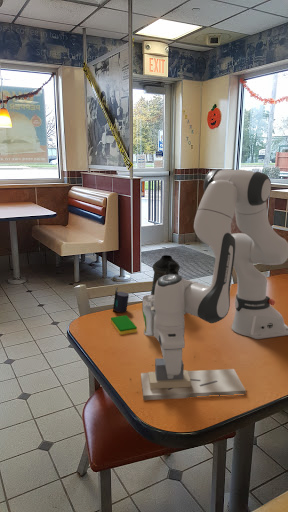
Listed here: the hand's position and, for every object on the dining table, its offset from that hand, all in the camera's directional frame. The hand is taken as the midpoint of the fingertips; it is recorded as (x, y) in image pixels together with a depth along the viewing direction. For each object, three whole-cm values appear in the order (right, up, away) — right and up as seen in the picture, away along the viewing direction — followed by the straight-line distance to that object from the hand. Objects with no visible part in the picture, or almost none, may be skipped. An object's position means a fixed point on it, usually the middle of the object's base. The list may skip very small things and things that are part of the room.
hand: (168, 372), depth 116 cm
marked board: (+7, -5, +2) cm, 9 cm away
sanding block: (0, -3, +1) cm, 3 cm away
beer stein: (+4, +10, +63) cm, 64 cm away
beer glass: (-5, +4, +38) cm, 39 cm away
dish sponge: (-16, +5, +44) cm, 47 cm away
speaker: (-18, +10, +62) cm, 65 cm away
